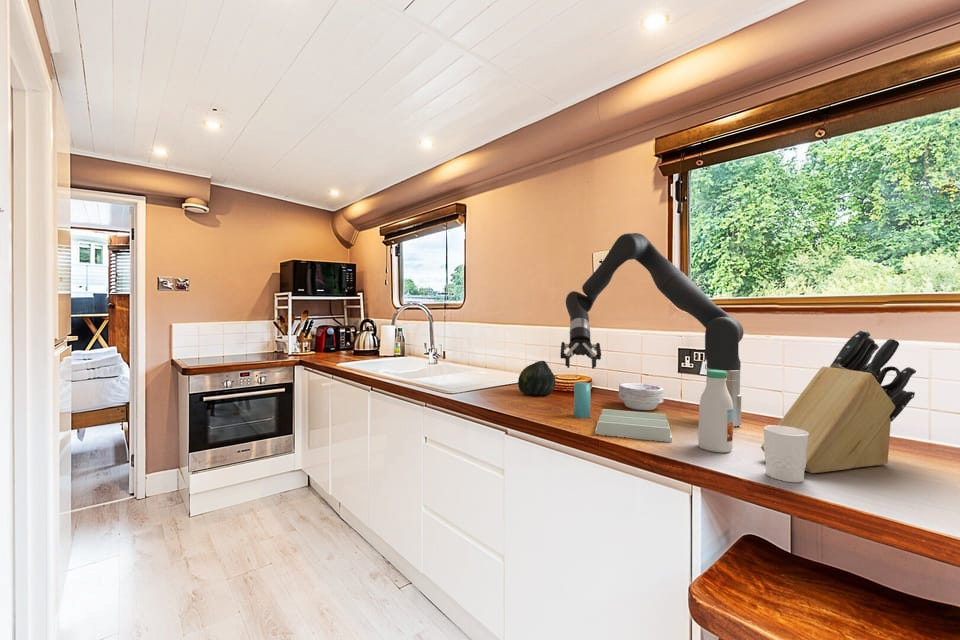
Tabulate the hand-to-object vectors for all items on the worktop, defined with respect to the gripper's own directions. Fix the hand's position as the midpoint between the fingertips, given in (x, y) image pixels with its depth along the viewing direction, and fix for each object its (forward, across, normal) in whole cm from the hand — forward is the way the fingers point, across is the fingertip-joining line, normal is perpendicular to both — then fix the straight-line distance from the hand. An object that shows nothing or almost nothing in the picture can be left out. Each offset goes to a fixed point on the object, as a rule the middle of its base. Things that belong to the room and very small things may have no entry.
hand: (580, 366), depth 156 cm
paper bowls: (+6, +22, +16) cm, 27 cm away
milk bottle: (+38, +32, -16) cm, 52 cm away
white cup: (+50, +40, -29) cm, 70 cm away
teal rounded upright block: (+19, 0, +3) cm, 19 cm away
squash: (-6, -16, +27) cm, 32 cm away
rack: (+28, +14, -7) cm, 32 cm away
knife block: (+41, +58, -19) cm, 73 cm away
